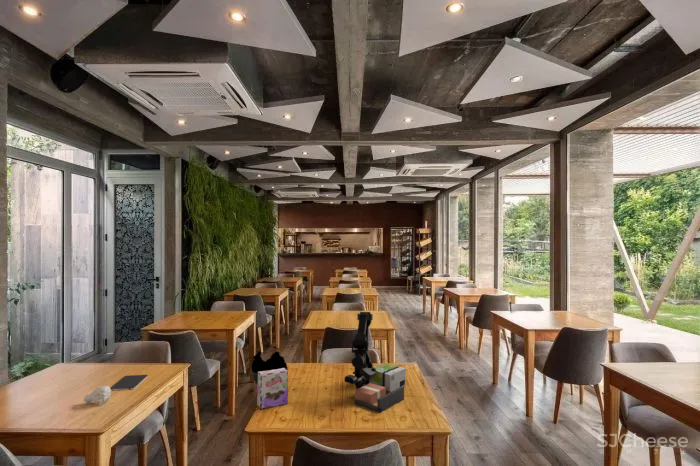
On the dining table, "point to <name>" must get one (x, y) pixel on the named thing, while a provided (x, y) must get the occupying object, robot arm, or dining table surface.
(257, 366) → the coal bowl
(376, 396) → the carton
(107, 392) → the grey rounded lump
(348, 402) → the dining table surface
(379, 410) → the display stand
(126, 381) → the notebook
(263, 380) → the candy box
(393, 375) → the tea box
